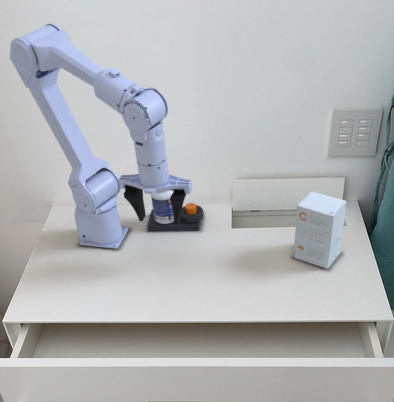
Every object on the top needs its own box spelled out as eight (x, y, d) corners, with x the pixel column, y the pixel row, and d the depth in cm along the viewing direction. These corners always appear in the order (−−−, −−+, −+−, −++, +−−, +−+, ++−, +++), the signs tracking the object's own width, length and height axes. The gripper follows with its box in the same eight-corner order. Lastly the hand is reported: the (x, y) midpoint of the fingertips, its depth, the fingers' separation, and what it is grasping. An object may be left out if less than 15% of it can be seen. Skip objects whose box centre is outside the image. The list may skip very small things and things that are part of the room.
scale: (148, 231, 134) (146, 220, 131) (152, 214, 138) (150, 203, 136) (202, 230, 132) (201, 219, 130) (204, 213, 137) (203, 202, 135)
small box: (340, 253, 123) (348, 200, 113) (327, 269, 119) (333, 216, 110) (306, 242, 126) (311, 190, 117) (292, 257, 123) (296, 205, 113)
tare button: (185, 215, 132) (184, 209, 131) (186, 209, 134) (185, 202, 133) (196, 215, 132) (195, 208, 131) (197, 209, 134) (196, 202, 132)
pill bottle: (175, 225, 132) (170, 187, 125) (152, 224, 133) (147, 187, 126) (179, 212, 136) (175, 174, 129) (156, 211, 136) (151, 174, 129)
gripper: (108, 166, 107) (120, 228, 117) (182, 172, 104) (188, 234, 114) (121, 148, 112) (131, 208, 121) (192, 153, 108) (197, 214, 118)
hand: (160, 220), depth 118 cm, fingers open, 7 cm apart
